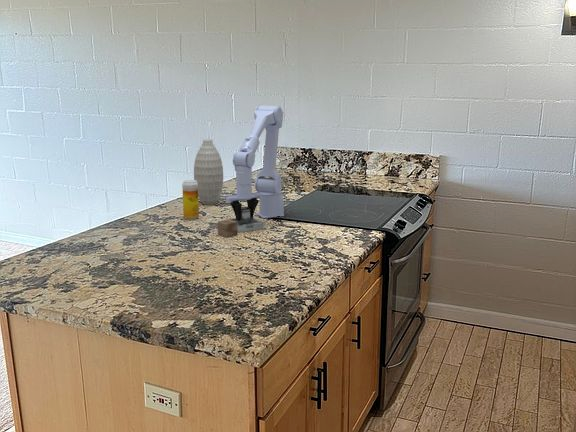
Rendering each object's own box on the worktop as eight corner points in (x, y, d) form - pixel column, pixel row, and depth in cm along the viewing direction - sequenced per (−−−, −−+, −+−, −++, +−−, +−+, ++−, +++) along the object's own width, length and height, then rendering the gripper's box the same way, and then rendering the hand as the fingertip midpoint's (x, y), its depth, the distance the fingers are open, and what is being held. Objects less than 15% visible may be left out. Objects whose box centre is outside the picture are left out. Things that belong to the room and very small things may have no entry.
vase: (189, 205, 253) (186, 140, 245) (204, 199, 264) (202, 137, 257) (215, 207, 248) (213, 142, 241) (228, 201, 259) (227, 138, 252)
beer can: (195, 220, 228) (194, 183, 224) (181, 219, 229) (179, 182, 225) (201, 216, 233) (200, 180, 229) (187, 215, 234) (185, 179, 231)
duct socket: (253, 222, 225) (253, 216, 225) (264, 229, 215) (264, 223, 215) (226, 225, 221) (226, 218, 220) (236, 233, 211) (236, 226, 210)
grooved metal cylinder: (253, 224, 218) (253, 208, 216) (241, 226, 215) (241, 210, 213) (247, 221, 222) (246, 205, 220) (235, 223, 219) (234, 207, 217)
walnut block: (228, 232, 212) (228, 219, 211) (237, 235, 209) (237, 221, 207) (218, 235, 209) (217, 221, 207) (226, 238, 205) (226, 224, 204)
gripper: (255, 179, 221) (255, 214, 225) (221, 184, 213) (222, 219, 217) (265, 182, 216) (265, 218, 219) (231, 187, 208) (231, 223, 211)
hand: (244, 219), depth 218 cm, fingers closed on grooved metal cylinder, 5 cm apart
